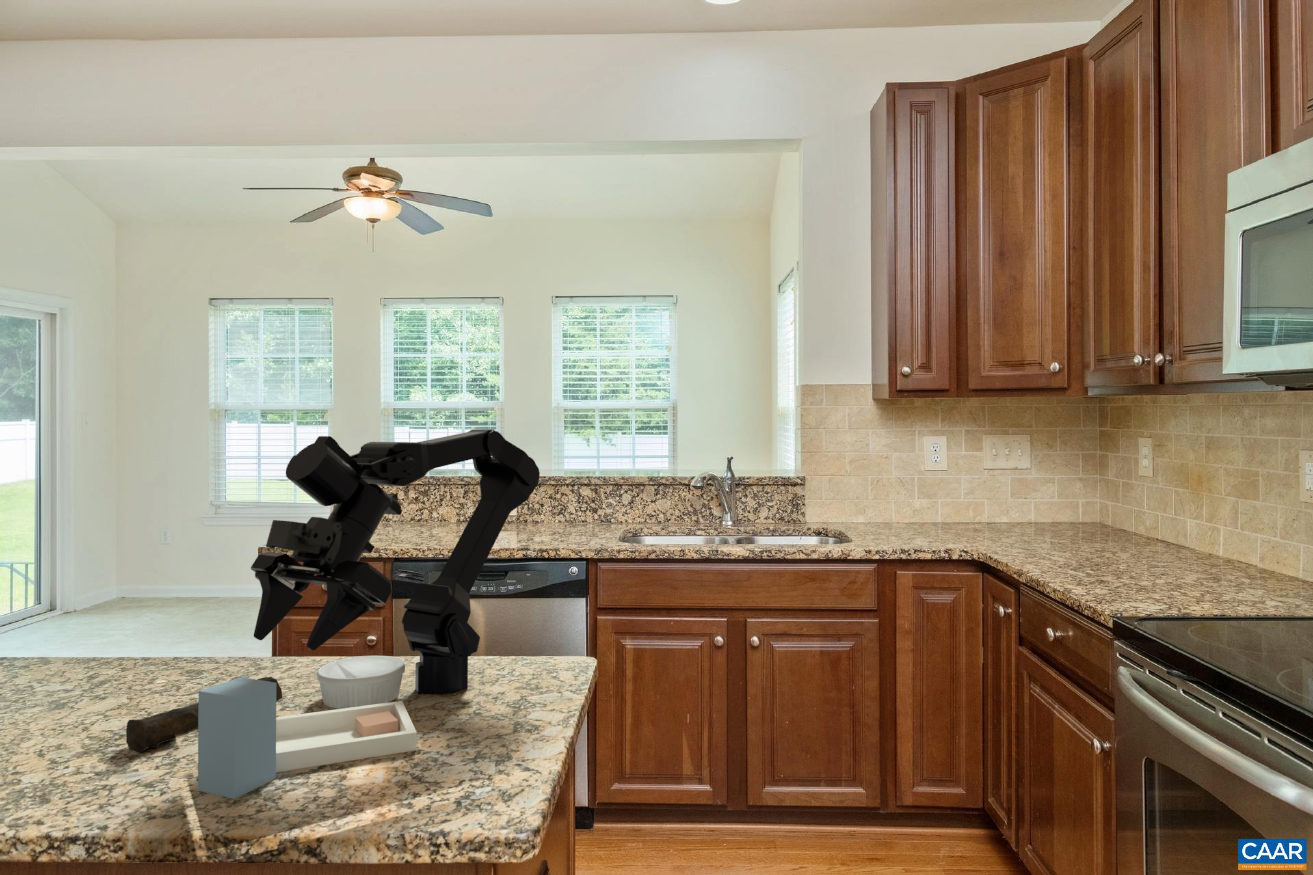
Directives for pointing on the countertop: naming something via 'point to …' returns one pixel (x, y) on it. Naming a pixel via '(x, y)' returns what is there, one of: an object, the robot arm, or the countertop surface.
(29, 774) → the countertop surface
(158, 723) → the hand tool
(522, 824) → the countertop surface
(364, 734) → the terracotta tile
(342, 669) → the ramekin
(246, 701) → the blue block
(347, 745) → the tray
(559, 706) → the countertop surface
